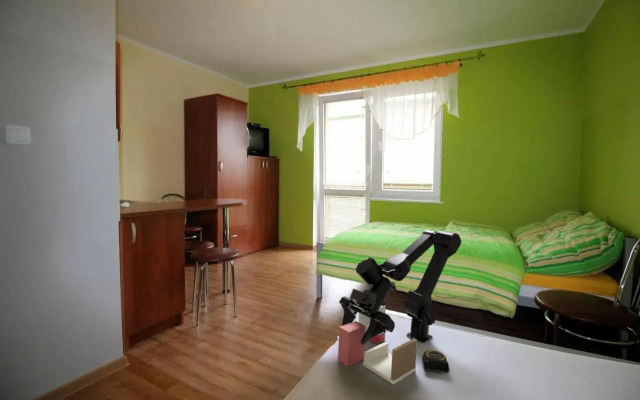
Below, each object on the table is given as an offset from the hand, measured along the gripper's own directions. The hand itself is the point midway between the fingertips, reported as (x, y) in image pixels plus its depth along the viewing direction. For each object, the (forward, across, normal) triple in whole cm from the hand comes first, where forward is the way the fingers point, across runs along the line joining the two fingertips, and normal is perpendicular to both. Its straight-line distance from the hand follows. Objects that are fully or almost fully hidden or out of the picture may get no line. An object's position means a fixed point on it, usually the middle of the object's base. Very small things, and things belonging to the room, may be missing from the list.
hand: (351, 337), depth 92 cm
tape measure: (-7, +18, +17) cm, 25 cm away
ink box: (-6, -6, +16) cm, 18 cm away
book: (+4, 0, +5) cm, 7 cm away
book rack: (0, +10, +9) cm, 13 cm away
